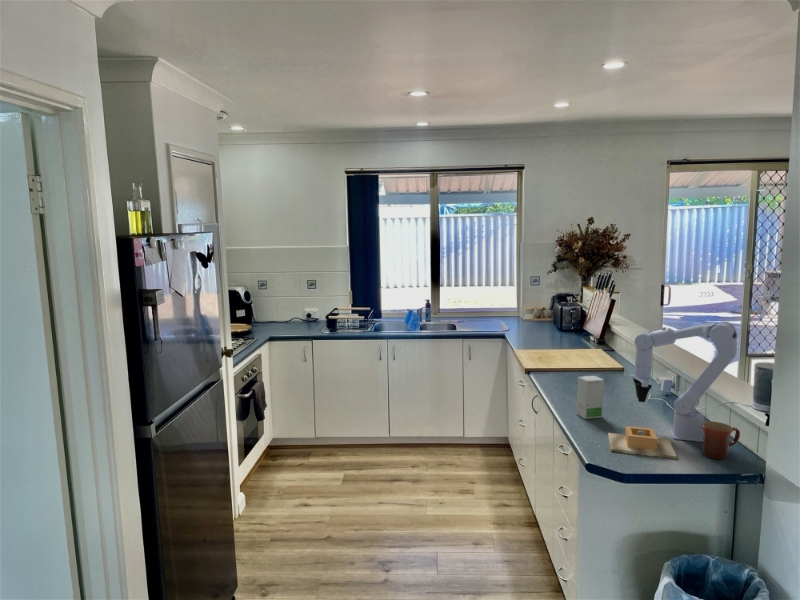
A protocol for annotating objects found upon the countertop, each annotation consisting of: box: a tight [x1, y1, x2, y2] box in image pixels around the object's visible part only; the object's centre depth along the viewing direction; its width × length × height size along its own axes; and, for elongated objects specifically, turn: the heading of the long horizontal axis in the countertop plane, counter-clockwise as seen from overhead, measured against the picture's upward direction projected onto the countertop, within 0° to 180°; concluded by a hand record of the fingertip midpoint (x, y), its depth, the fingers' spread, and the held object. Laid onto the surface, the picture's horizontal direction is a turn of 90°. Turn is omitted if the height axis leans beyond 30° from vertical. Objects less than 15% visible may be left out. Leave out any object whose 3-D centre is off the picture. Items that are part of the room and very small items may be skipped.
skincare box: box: [575, 375, 605, 420], centre depth 210 cm, size 8×7×16 cm
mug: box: [701, 420, 741, 460], centre depth 173 cm, size 12×9×10 cm
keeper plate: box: [607, 430, 678, 460], centre depth 181 cm, size 20×14×6 cm
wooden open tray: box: [624, 425, 658, 450], centre depth 182 cm, size 9×9×4 cm
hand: (640, 399), depth 198 cm, fingers open, 4 cm apart
